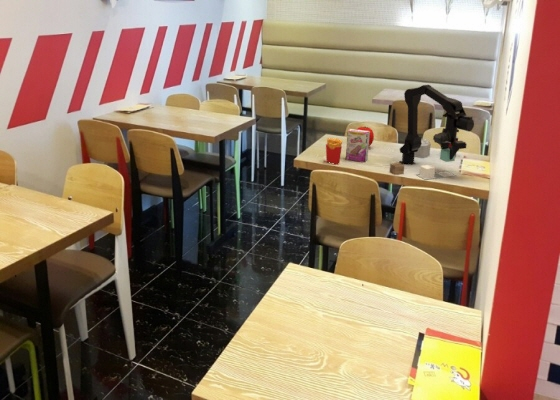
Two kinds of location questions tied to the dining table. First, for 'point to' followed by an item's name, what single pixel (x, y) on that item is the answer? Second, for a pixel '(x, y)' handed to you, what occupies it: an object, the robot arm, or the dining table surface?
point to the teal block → (446, 155)
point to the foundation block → (427, 171)
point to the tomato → (370, 133)
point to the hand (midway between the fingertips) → (447, 158)
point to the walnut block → (396, 168)
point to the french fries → (333, 150)
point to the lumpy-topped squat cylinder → (423, 149)
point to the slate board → (439, 175)
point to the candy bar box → (357, 145)
